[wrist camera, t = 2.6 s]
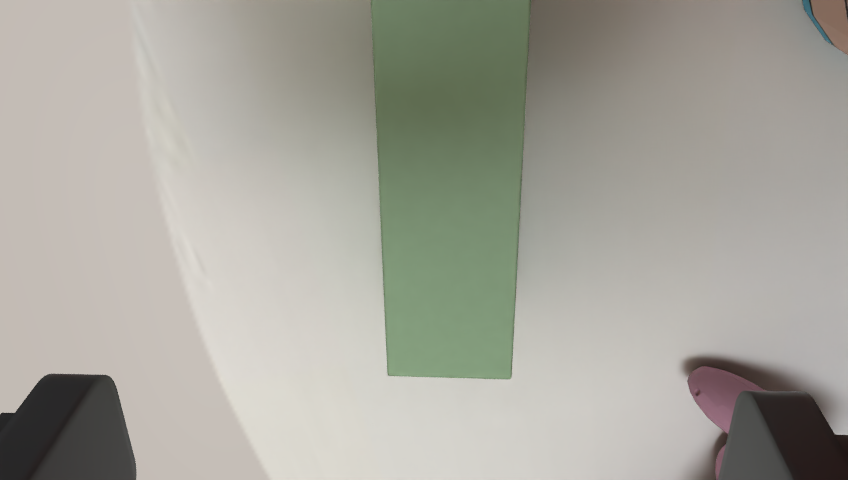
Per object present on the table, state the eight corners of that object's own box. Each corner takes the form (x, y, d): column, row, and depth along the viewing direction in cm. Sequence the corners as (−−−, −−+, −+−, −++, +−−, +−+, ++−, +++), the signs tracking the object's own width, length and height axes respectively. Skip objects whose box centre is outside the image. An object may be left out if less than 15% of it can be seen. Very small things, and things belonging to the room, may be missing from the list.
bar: (383, -187, 19) (362, -186, 15) (529, -189, 19) (540, -188, 15) (399, 299, 26) (387, 376, 22) (507, 301, 25) (511, 380, 22)
